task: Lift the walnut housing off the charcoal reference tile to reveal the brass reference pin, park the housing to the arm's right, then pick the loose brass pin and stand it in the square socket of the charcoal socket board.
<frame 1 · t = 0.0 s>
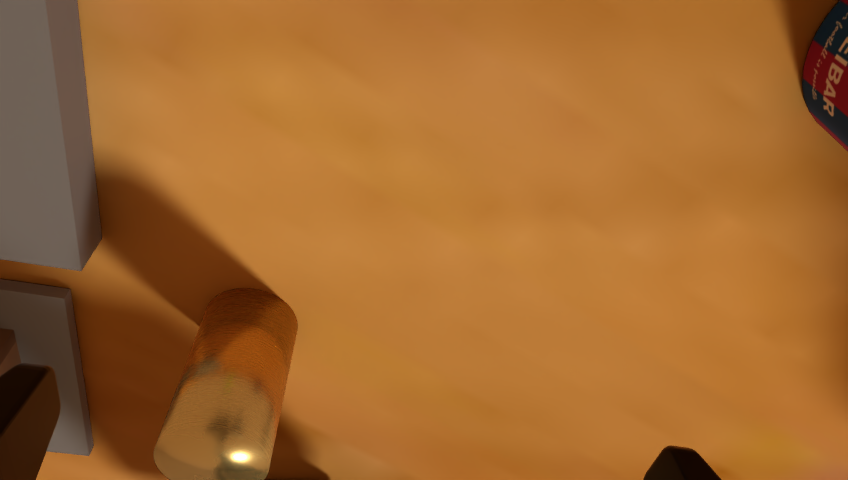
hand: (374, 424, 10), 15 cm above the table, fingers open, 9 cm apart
pin: (251, 322, 29), on the table
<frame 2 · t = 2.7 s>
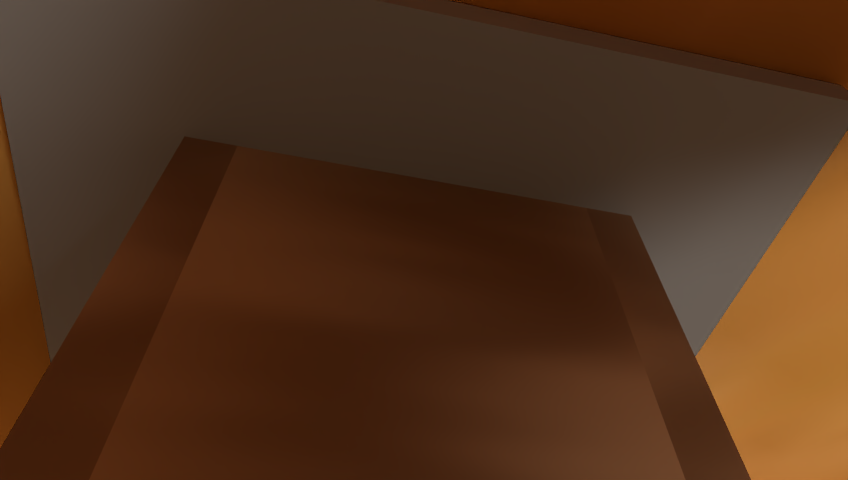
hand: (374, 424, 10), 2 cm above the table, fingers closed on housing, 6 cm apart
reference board: (381, 311, 12), on the table
housing: (379, 335, 11), point 1 cm above the table, touching gripper, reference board
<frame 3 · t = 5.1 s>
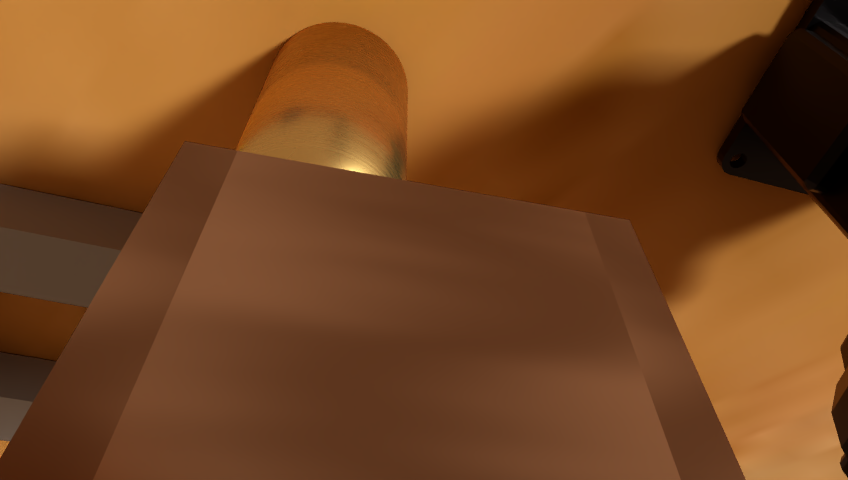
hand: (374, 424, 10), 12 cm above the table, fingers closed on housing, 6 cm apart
socket board: (39, 310, 24), on the table
pin: (339, 90, 19), on the table
housing: (379, 339, 11), point 10 cm above the table, touching gripper
when the fingers open (3 cm above the table, at t = 7.6 s): housing drops 1 cm, on the table.
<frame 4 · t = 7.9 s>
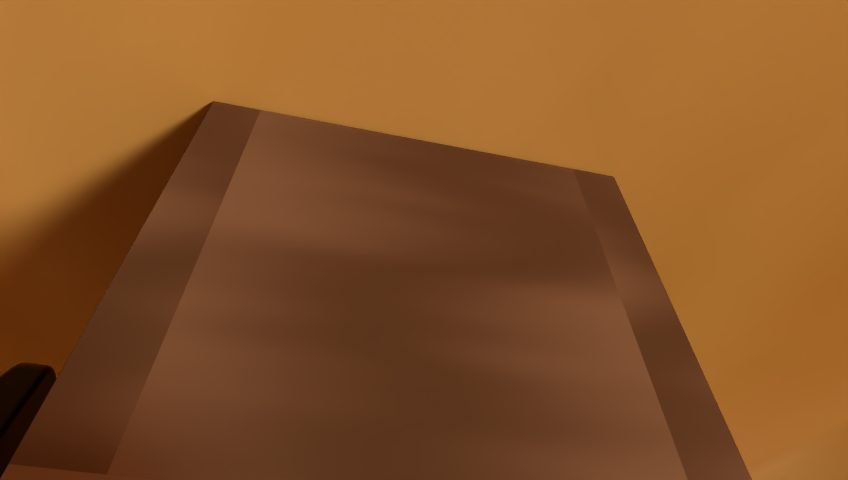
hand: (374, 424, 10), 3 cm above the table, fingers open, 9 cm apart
housing: (385, 290, 12), on the table
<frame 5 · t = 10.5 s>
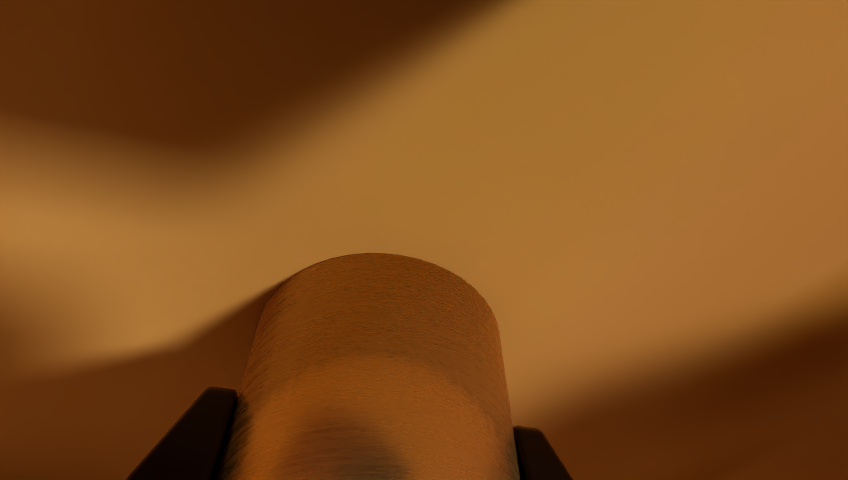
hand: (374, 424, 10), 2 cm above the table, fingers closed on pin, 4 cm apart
pin: (379, 347, 11), on the table, touching gripper
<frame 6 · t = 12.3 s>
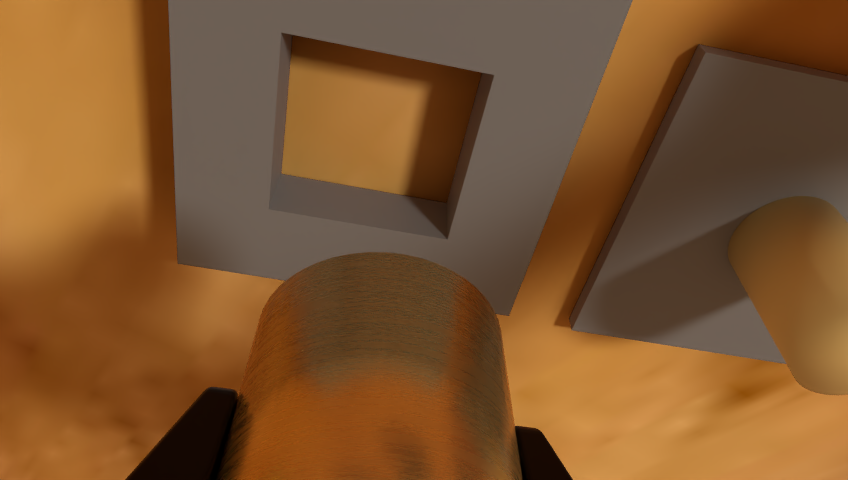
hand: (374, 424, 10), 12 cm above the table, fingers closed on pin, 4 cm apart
socket board: (378, 114, 20), on the table
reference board: (776, 230, 22), on the table
pin: (380, 347, 11), point 11 cm above the table, touching gripper
when the fingers open (3 cm above the table, at t = 14.4 s): pin drops 1 cm, resting in socket board.
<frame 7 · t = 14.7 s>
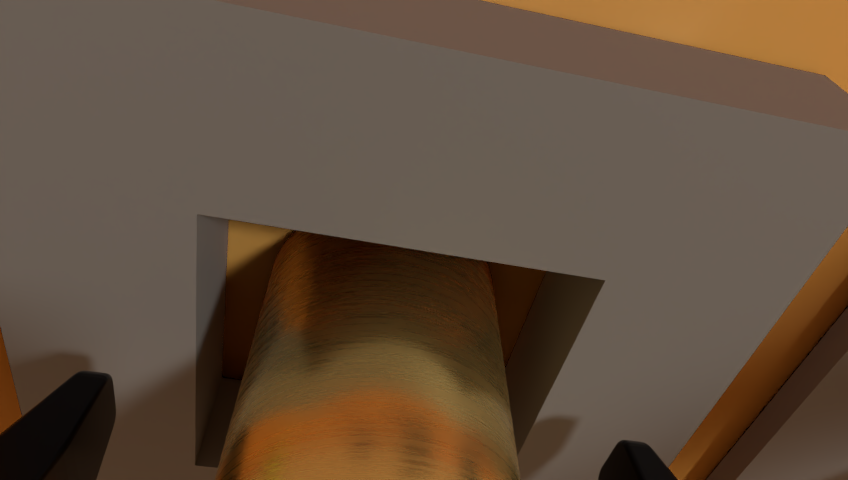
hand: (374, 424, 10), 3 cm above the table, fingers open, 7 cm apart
socket board: (380, 298, 12), on the table
pin: (382, 294, 12), resting in socket board
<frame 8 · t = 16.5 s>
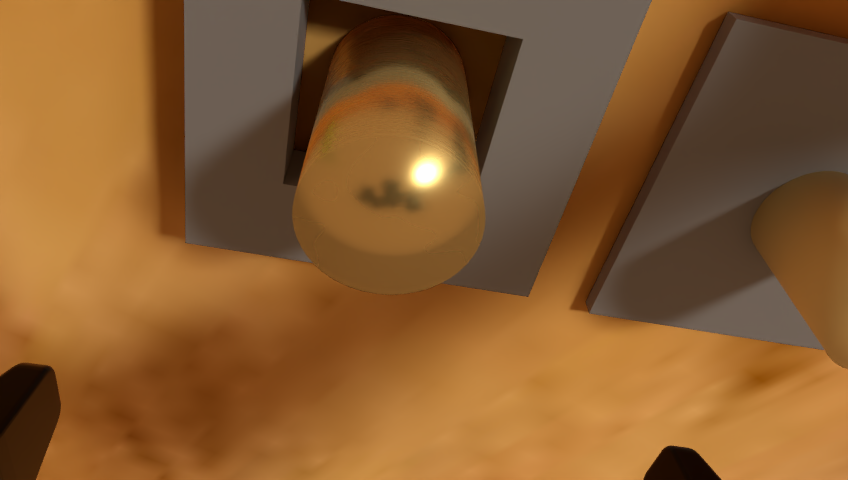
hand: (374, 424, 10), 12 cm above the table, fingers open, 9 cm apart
socket board: (396, 85, 19), on the table
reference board: (799, 207, 22), on the table
pin: (397, 83, 19), resting in socket board
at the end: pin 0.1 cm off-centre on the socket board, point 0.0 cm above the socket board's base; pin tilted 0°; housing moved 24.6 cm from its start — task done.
